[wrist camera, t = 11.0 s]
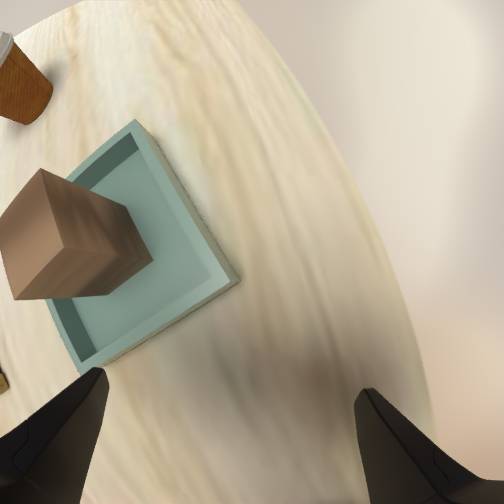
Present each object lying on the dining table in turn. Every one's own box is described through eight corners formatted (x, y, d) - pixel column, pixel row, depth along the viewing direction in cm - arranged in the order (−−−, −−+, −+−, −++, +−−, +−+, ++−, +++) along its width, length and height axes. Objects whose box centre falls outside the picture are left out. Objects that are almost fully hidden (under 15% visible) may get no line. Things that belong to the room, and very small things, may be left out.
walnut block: (153, 260, 20) (64, 247, 11) (107, 295, 21) (14, 300, 11) (125, 206, 21) (40, 168, 12) (83, 242, 22) (-5, 224, 12)
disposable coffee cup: (6, 129, 27) (-51, 98, 15) (42, 71, 27) (-8, 31, 15) (31, 143, 25) (-40, 106, 13) (74, 76, 25) (16, 23, 13)
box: (240, 281, 21) (230, 281, 17) (105, 365, 21) (80, 375, 18) (153, 137, 23) (135, 118, 19) (47, 231, 23) (22, 226, 20)
